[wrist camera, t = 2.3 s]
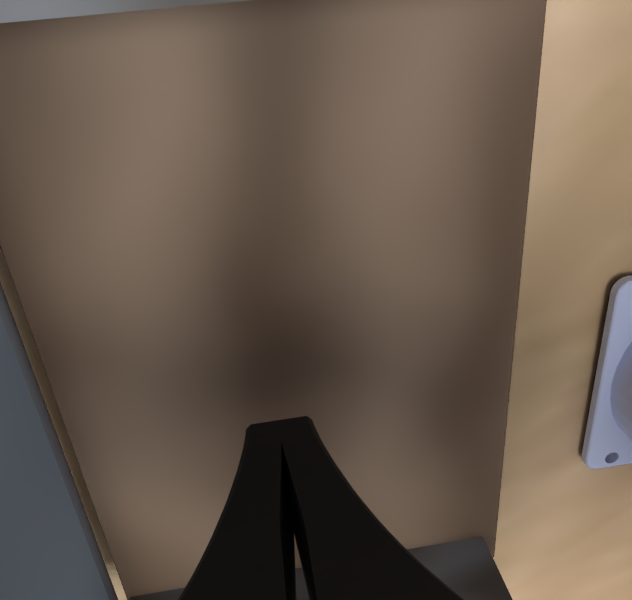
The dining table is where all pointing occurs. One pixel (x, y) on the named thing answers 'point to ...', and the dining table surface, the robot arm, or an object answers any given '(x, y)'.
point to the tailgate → (39, 493)
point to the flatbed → (274, 253)
